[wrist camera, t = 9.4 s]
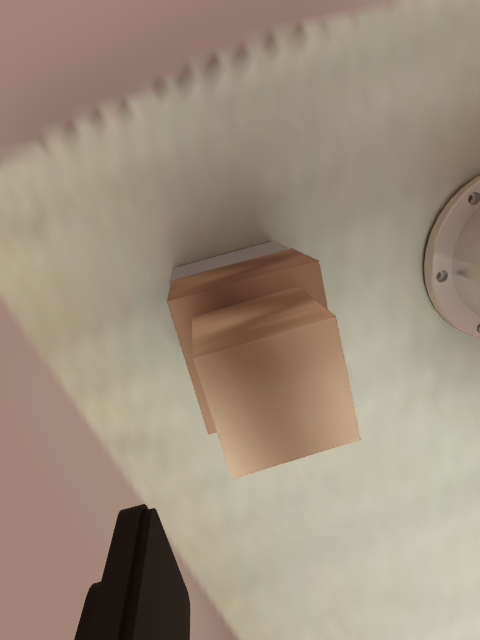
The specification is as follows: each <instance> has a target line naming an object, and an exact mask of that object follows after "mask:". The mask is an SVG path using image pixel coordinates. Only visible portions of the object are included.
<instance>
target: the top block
mask: <svg viewBox="0 0 480 640" xmlns="http://www.w3.org/2000/svg"><path fill="white" fill-rule="evenodd" d="M297 286H298V287H299V288H300V289H302V290H303V291H304V292H306V293H307V294H308V295H309V296H311V297H312V298H313V299H314V300H316V301H317V302H318V303H319V304H321V305H322V306H323V307H324V308H326V309H327V310H328V308H327V302H326V297H325V292H324V286H323V281H322V275H321V270H320V264H319V261H318V260H316V259H314V258H311V257H309V256H307V255H305V254H303V253H301V252H299V251H297V250H294V249H292V248H291V249H287V250H283V251H280V252H276V253H272V254H268V255H265V256H261V257H257V258H253V259H249V260H246V261H242V262H238V263H234V264H231V265H227V266H223V267H219V268H215V269H212V270H208V271H204V272H200V273H197V274H193V275H189V276H185V277H182V278H178V279H174V280H172V281H171V285H170V290H169V295H168V300H167V303H168V306H169V309H170V312H171V316H172V319H173V322H174V325H175V328H176V332H177V335H178V338H179V341H180V345H181V348H182V351H183V354H184V357H185V361H186V364H187V367H188V370H189V374H190V377H191V380H192V383H193V386H194V390H195V393H196V396H197V399H198V403H199V406H200V409H201V412H202V415H203V419H204V422H205V425H206V428H207V432H208V435H209V434H212V433H216V432H217V431H216V428H215V425H214V422H213V419H212V416H211V412H210V409H209V406H208V403H207V400H206V397H205V394H204V391H203V388H202V385H201V382H200V379H199V376H198V373H197V370H196V367H195V364H194V361H193V348H192V317H195V316H198V315H202V314H205V313H208V312H212V311H215V310H219V309H222V308H225V307H229V306H232V305H236V304H239V303H243V302H246V301H249V300H253V299H256V298H260V297H263V296H266V295H270V294H273V293H277V292H280V291H284V290H287V289H290V288H294V287H297Z"/></svg>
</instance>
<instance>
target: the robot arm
mask: <svg viewBox="0 0 480 640" xmlns="http://www.w3.org/2000/svg"><path fill="white" fill-rule="evenodd" d="M424 273H425V283H426V287H427V291H428V295H429V297H430V299H431V301H432V303H433V305H434V307H435V309H436V310H437V311H438V312H439V314H440V315H441V316H442V317H443V319H444V320H446V321H447V322H448V323H450V324H451V325H452V326H454V327H455V328H457V329H459V330H461V331H463V332H465V333H467V334H470V335H472V336H475V337H479V338H480V175H479V176H477V177H476V178H474V179H473V180H472V181H470V182H469V183H468V184H466V185H465V186H463V187H462V188H461V189H460V190H459V191H458V192H457V193H456V194H455V195H454V196H453V197H452V198H451V199H450V201H449V202H448V203H447V205H446V206H445V208H444V209H443V211H442V212H441V213H440V215H439V217H438V219H437V221H436V223H435V225H434V227H433V229H432V231H431V234H430V237H429V240H428V244H427V247H426V253H425V261H424ZM74 640H190V601H189V596H188V591H187V588H186V586H185V583H184V581H183V578H182V575H181V573H180V570H179V568H178V565H177V562H176V560H175V557H174V555H173V552H172V549H171V547H170V544H169V542H168V539H167V536H166V534H165V531H164V529H163V526H162V523H161V521H160V518H159V516H158V513H157V511H156V509H155V508H153V509H148V507H147V506H146V505H145V504H142V505H139V506H135V507H131V508H128V509H124V510H121V511H120V512H119V514H118V517H117V521H116V525H115V529H114V533H113V537H112V541H111V545H110V549H109V553H108V557H107V561H106V565H105V569H104V573H103V577H102V581H101V582H98V583H94V584H93V585H92V586H91V587H90V588H89V591H88V594H87V596H86V600H85V603H84V607H83V611H82V614H81V618H80V621H79V625H78V628H77V632H76V636H75V639H74Z"/></svg>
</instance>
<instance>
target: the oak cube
mask: <svg viewBox="0 0 480 640" xmlns="http://www.w3.org/2000/svg"><path fill="white" fill-rule="evenodd" d="M192 348H193V361H194V364H195V367H196V370H197V373H198V376H199V379H200V382H201V385H202V388H203V391H204V394H205V397H206V400H207V403H208V406H209V409H210V412H211V416H212V419H213V422H214V425H215V428H216V431H217V434H218V437H219V440H220V443H221V446H222V449H223V452H224V455H225V458H226V461H227V464H228V467H229V470H230V473H231V476H232V479H234V478H238V477H241V476H244V475H247V474H251V473H254V472H257V471H260V470H264V469H267V468H270V467H273V466H276V465H280V464H283V463H286V462H289V461H293V460H296V459H299V458H302V457H305V456H309V455H312V454H315V453H318V452H322V451H325V450H328V449H331V448H335V447H338V446H341V445H344V444H347V443H351V442H354V441H357V440H360V434H359V429H358V424H357V419H356V414H355V409H354V404H353V399H352V394H351V389H350V384H349V379H348V374H347V369H346V364H345V359H344V354H343V349H342V345H341V340H340V335H339V330H338V325H337V320H336V316H335V315H333V314H332V313H331V312H330V311H328V310H327V309H326V308H324V307H323V306H322V305H321V304H319V303H318V302H317V301H316V300H314V299H313V298H312V297H311V296H309V295H308V294H307V293H306V292H304V291H303V290H302V289H300V288H299V287H298V286H297V287H294V288H290V289H287V290H284V291H280V292H277V293H273V294H270V295H266V296H263V297H260V298H256V299H253V300H249V301H246V302H243V303H239V304H236V305H232V306H229V307H225V308H222V309H219V310H215V311H212V312H208V313H205V314H202V315H198V316H195V317H192Z"/></svg>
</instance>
